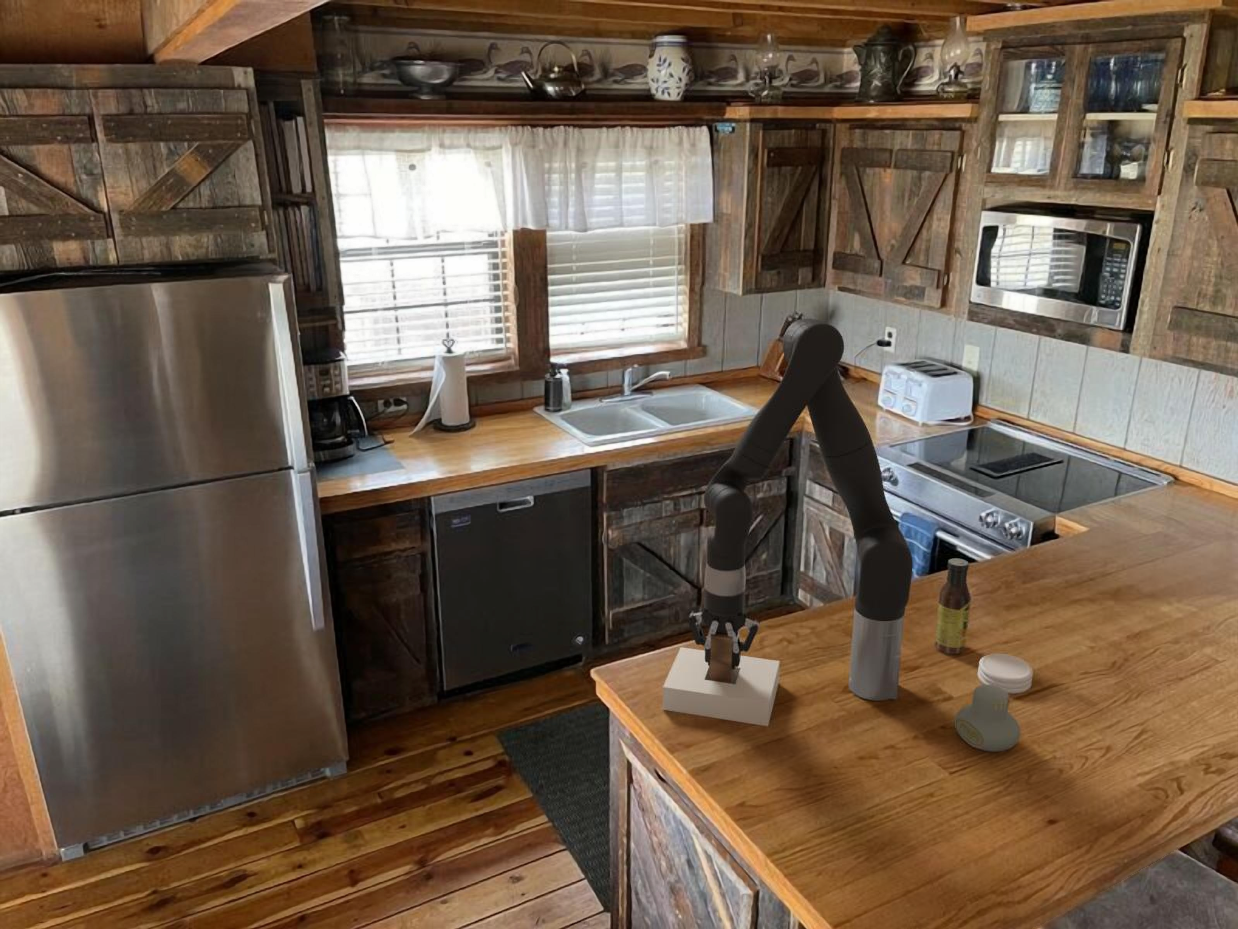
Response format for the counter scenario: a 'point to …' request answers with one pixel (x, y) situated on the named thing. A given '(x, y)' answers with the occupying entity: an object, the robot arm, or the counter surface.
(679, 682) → the socket board
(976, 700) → the air freshener
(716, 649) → the peg
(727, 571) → the robot arm
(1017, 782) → the counter surface
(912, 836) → the counter surface
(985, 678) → the coaster
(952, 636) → the sauce bottle
